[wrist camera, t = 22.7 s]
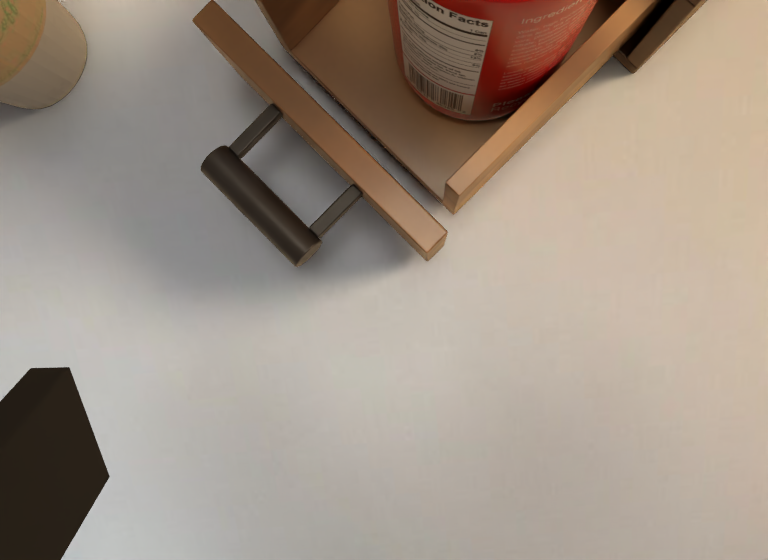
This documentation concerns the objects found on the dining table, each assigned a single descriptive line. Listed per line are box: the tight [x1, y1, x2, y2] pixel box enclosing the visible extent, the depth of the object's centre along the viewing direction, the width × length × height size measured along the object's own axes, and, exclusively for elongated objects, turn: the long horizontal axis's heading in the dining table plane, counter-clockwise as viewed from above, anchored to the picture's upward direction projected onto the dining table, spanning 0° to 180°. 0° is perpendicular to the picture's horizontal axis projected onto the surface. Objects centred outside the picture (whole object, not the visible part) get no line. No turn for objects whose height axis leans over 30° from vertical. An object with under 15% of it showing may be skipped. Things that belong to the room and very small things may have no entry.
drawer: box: [192, 0, 663, 267], centre depth 29 cm, size 20×13×7 cm
